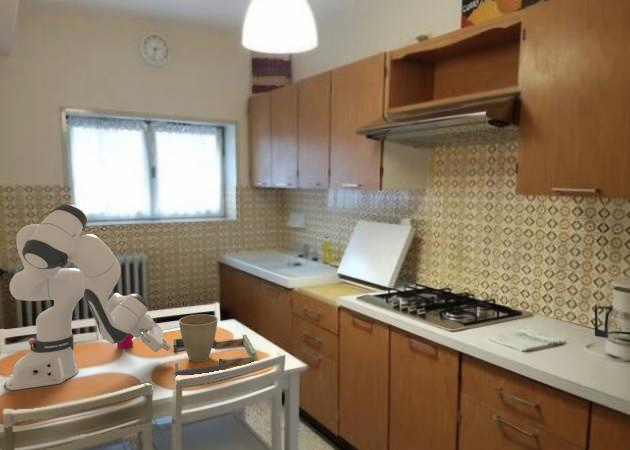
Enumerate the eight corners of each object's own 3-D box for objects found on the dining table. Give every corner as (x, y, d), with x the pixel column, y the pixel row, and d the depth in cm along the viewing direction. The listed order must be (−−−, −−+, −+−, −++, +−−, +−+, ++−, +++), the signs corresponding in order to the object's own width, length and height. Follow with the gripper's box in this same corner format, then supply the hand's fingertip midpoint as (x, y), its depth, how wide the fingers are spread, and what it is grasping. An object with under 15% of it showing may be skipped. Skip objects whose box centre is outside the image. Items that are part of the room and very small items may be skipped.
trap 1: (173, 351, 190) (173, 344, 190) (173, 345, 198) (173, 339, 197) (215, 347, 196) (215, 340, 195) (213, 341, 203) (213, 335, 203)
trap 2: (175, 379, 163) (175, 371, 163) (175, 371, 170) (175, 363, 170) (224, 373, 168) (224, 365, 168) (221, 366, 175) (221, 358, 175)
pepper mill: (129, 349, 193) (128, 302, 192) (112, 349, 194) (111, 302, 192) (136, 343, 201) (135, 298, 199) (120, 343, 201) (118, 298, 199)
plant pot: (194, 368, 173) (193, 327, 171) (172, 359, 182) (171, 319, 181) (226, 357, 184) (225, 318, 183) (203, 349, 194) (203, 312, 192)
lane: (222, 367, 174) (221, 356, 174) (215, 346, 197) (215, 337, 196) (256, 362, 179) (256, 352, 178) (246, 343, 201) (246, 334, 200)
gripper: (146, 327, 166) (175, 351, 170) (148, 313, 185) (174, 334, 189) (133, 341, 165) (163, 364, 169) (137, 325, 184) (163, 346, 188)
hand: (169, 348), depth 179 cm, fingers closed
